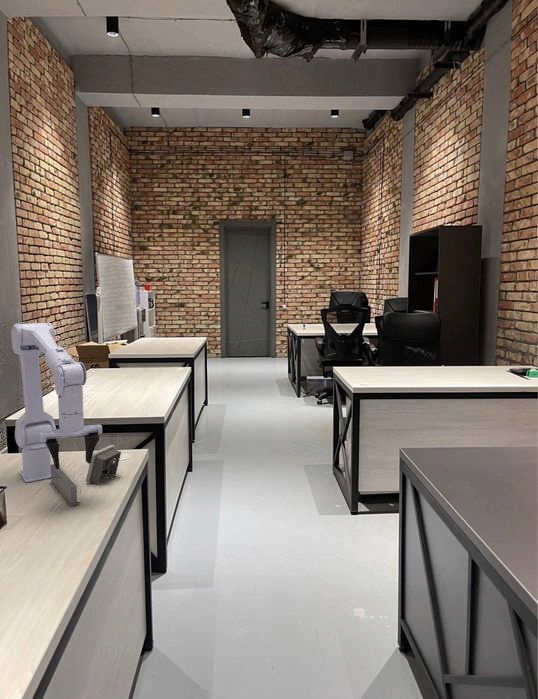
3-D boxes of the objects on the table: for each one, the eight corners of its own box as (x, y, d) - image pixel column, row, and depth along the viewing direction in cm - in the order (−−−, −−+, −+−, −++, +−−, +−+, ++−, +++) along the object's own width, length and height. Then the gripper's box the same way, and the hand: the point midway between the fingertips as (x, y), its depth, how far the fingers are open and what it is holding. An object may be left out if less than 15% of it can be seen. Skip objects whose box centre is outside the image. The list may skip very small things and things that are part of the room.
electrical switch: (106, 473, 156) (108, 442, 154) (121, 477, 154) (123, 446, 153) (85, 484, 147) (86, 452, 146) (100, 488, 145) (102, 456, 144)
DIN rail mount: (51, 482, 148) (50, 464, 147) (60, 480, 149) (59, 463, 149) (71, 506, 132) (70, 487, 131) (81, 504, 133) (80, 485, 133)
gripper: (43, 419, 124) (45, 475, 126) (105, 411, 132) (106, 464, 134) (37, 413, 130) (39, 466, 131) (96, 405, 138) (98, 456, 140)
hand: (72, 465), depth 133 cm, fingers open, 7 cm apart
